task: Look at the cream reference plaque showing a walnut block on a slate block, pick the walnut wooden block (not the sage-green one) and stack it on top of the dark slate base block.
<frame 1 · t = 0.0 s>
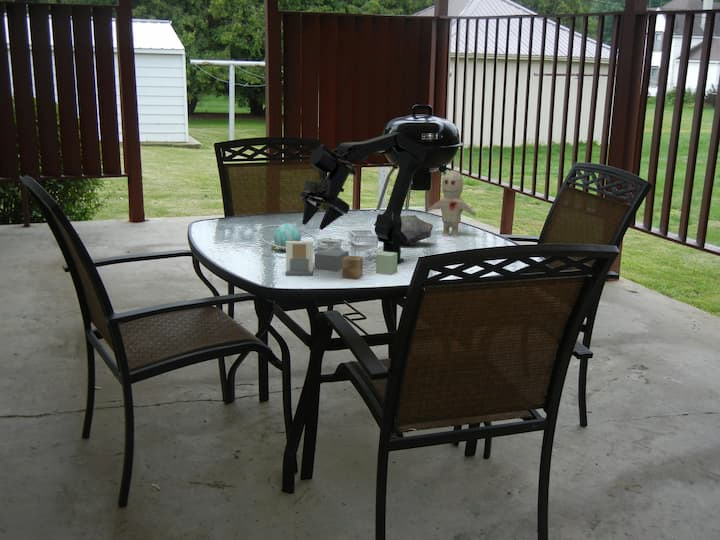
hand: (311, 226, 230), 15 cm above the table, fingers open, 9 cm apart
slate base: (331, 267, 244), on the table
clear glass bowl: (287, 251, 266), on the table
toy 2: (450, 236, 295), on the table
sage block: (386, 272, 238), on the table
stone: (407, 244, 279), on the table
walnut block: (352, 277, 232), on the table
reference plaque: (299, 273, 235), on the table
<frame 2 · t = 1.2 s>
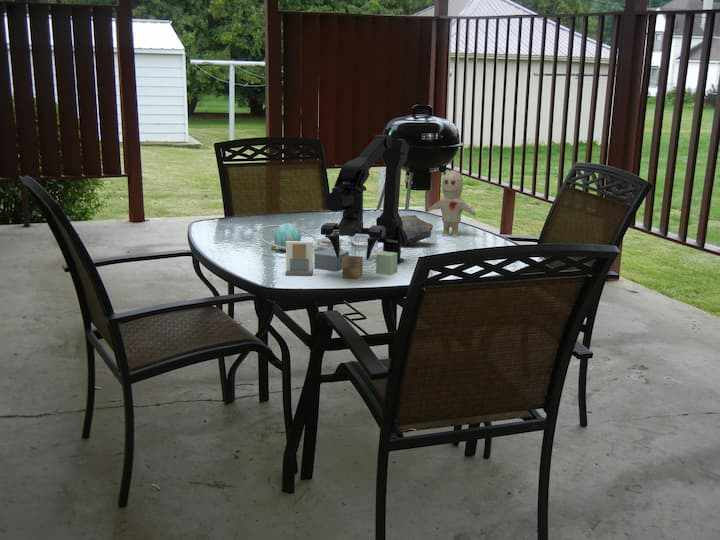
hand: (352, 258, 231), 6 cm above the table, fingers open, 9 cm apart
nothing on the table moved.
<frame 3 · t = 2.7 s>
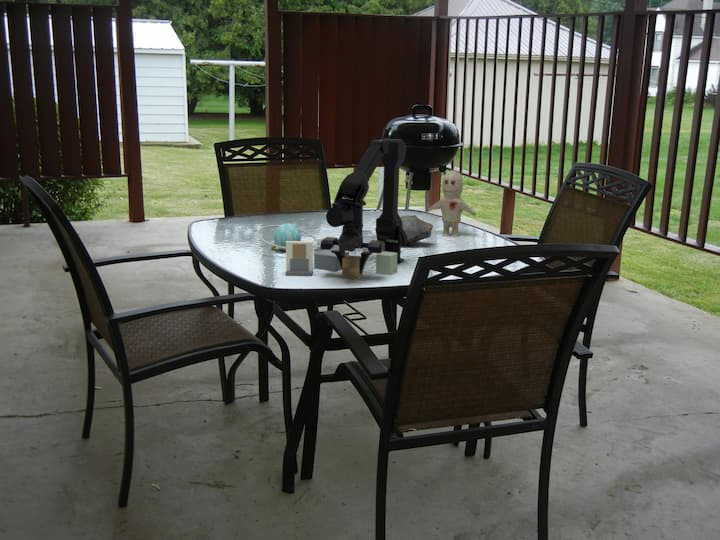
hand: (352, 272, 232), 1 cm above the table, fingers closed on walnut block, 5 cm apart
walnut block: (352, 276, 232), on the table, touching gripper
everything else where it was.
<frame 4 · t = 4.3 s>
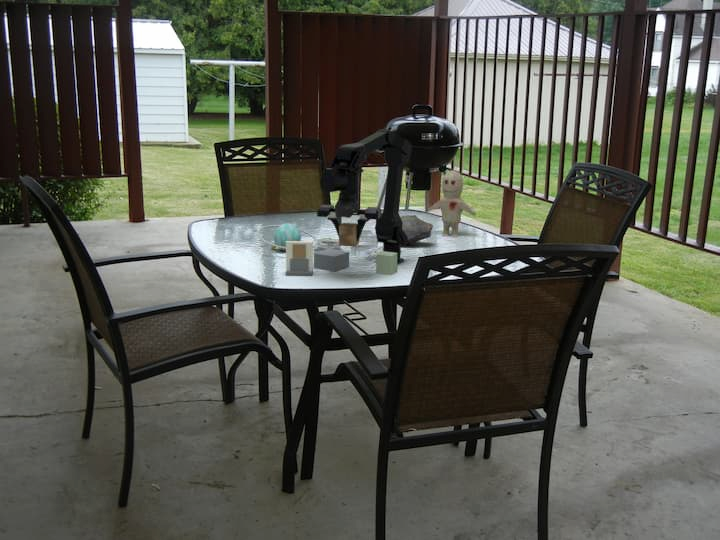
hand: (349, 240, 232), 11 cm above the table, fingers closed on walnut block, 5 cm apart
walnut block: (349, 244, 232), point 10 cm above the table, touching gripper
everything else where it was.
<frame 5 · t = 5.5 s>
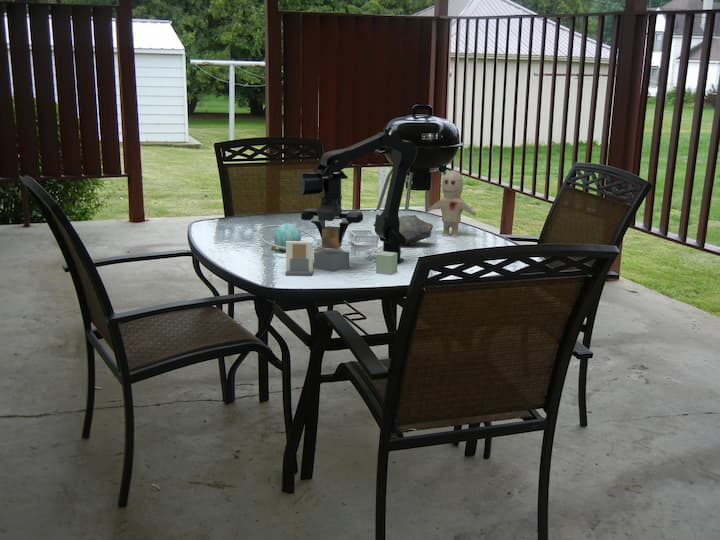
hand: (332, 242, 242), 8 cm above the table, fingers closed on walnut block, 5 cm apart
walnut block: (332, 246, 242), point 7 cm above the table, touching gripper
everything else where it was.
when the fingers open (8 cm above the table, at t = 6.3 s): walnut block drops 2 cm, point 5 cm above the table.
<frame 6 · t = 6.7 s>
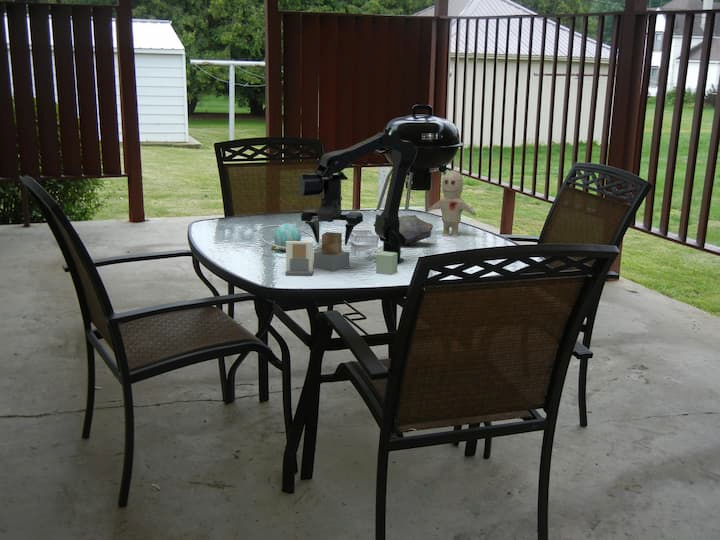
hand: (331, 243, 242), 8 cm above the table, fingers open, 9 cm apart
walnut block: (331, 252, 243), point 5 cm above the table
everything else where it was.
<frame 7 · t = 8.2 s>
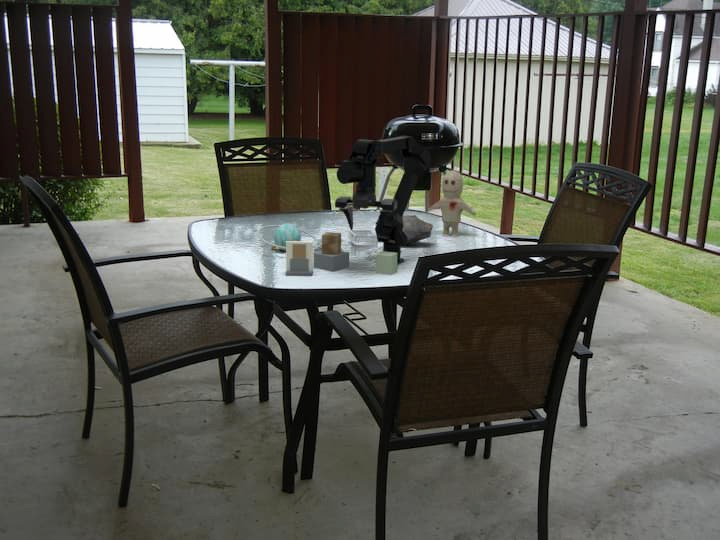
hand: (365, 230, 241), 12 cm above the table, fingers open, 9 cm apart
slate base: (331, 268, 244), on the table, touching walnut block
walnut block: (331, 252, 243), point 5 cm above the table, touching slate base
everything else where it was.
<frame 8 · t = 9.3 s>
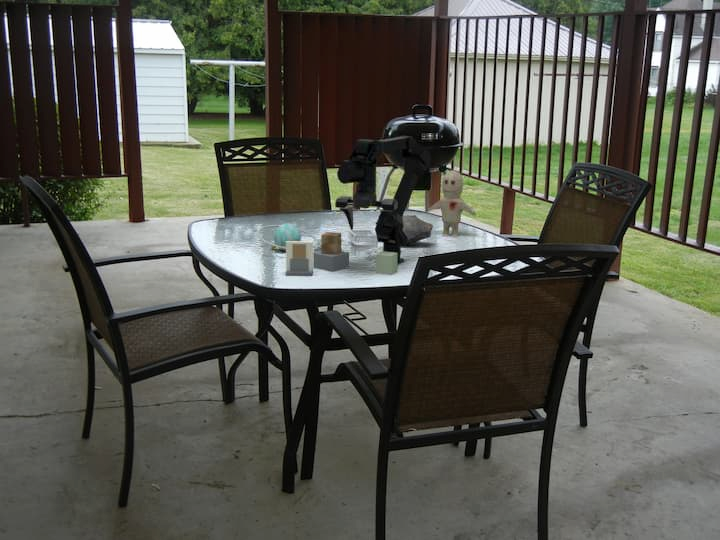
hand: (366, 230, 240), 12 cm above the table, fingers open, 9 cm apart
slate base: (331, 268, 244), on the table
walnut block: (331, 252, 243), point 5 cm above the table
everything else where it was.
at the end: walnut block 0.3 cm off-centre on the slate base, point 5.0 cm above the slate base's base; walnut block tilted 1°; sage block moved 0.1 cm from its start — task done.
